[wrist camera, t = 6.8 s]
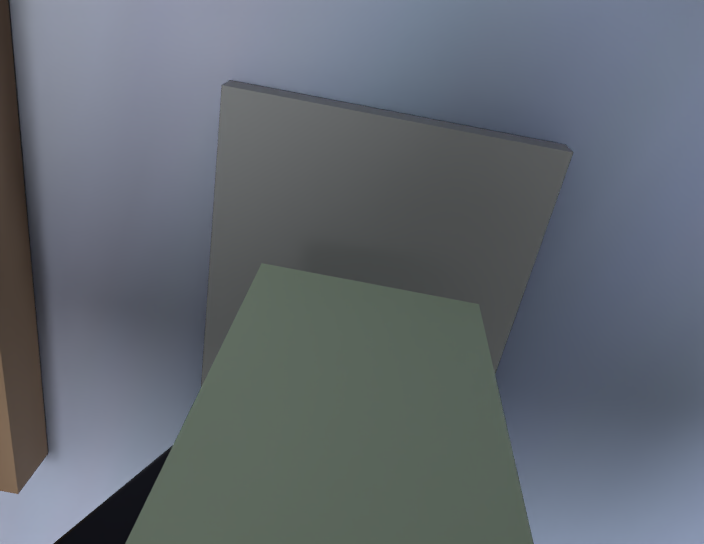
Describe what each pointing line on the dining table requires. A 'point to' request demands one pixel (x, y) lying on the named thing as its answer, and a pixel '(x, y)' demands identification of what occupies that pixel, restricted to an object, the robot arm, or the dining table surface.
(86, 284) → the dining table surface
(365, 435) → the sage block
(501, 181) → the rubber mat
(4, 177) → the well board
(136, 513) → the robot arm
